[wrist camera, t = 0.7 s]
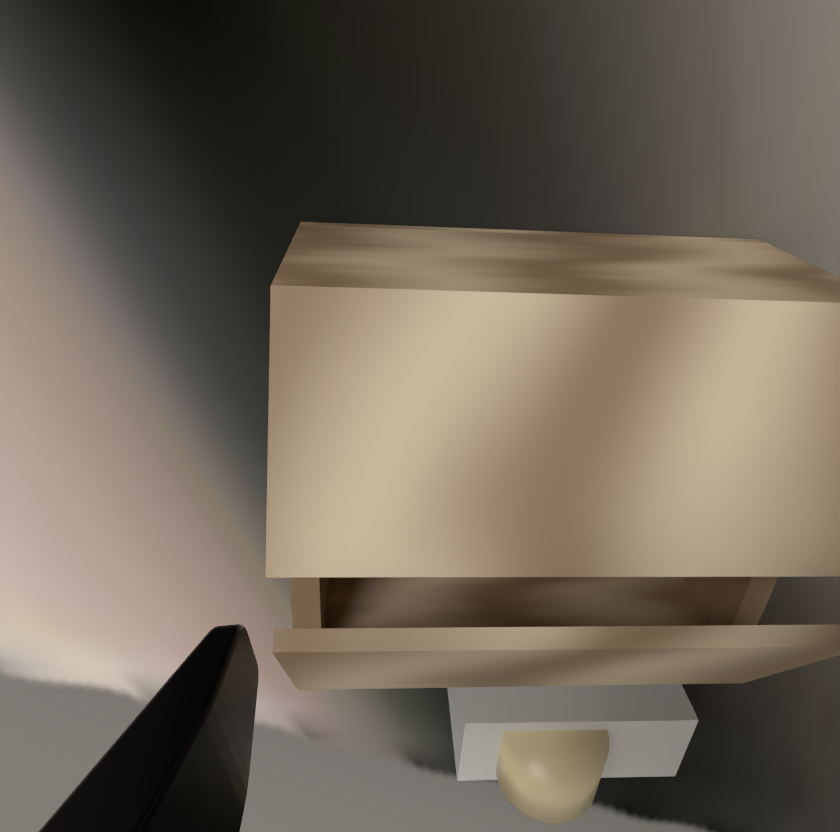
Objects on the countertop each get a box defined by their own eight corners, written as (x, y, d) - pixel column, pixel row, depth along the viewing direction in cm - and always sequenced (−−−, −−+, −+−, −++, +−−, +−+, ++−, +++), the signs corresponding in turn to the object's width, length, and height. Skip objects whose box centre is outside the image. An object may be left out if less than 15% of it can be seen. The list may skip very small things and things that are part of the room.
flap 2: (862, 624, 15) (870, 646, 15) (738, 666, 20) (742, 683, 20) (274, 628, 14) (272, 652, 14) (299, 671, 19) (297, 689, 19)
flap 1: (894, 309, 14) (913, 304, 14) (891, 571, 14) (910, 576, 14) (274, 290, 13) (270, 285, 13) (269, 571, 13) (265, 577, 13)
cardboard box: (759, 239, 20) (897, 306, 14) (666, 540, 26) (740, 665, 20) (301, 221, 19) (270, 286, 13) (313, 539, 25) (296, 670, 19)
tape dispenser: (654, 628, 28) (723, 771, 23) (636, 682, 30) (696, 827, 24) (453, 628, 28) (471, 776, 22) (447, 684, 29) (462, 833, 24)
